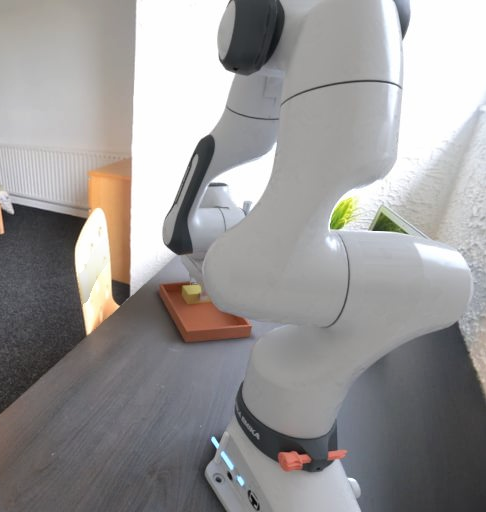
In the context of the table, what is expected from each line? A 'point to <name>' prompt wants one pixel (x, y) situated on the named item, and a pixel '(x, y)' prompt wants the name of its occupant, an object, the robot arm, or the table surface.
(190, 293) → the sponge
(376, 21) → the robot arm
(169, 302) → the orange tray
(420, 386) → the table surface
